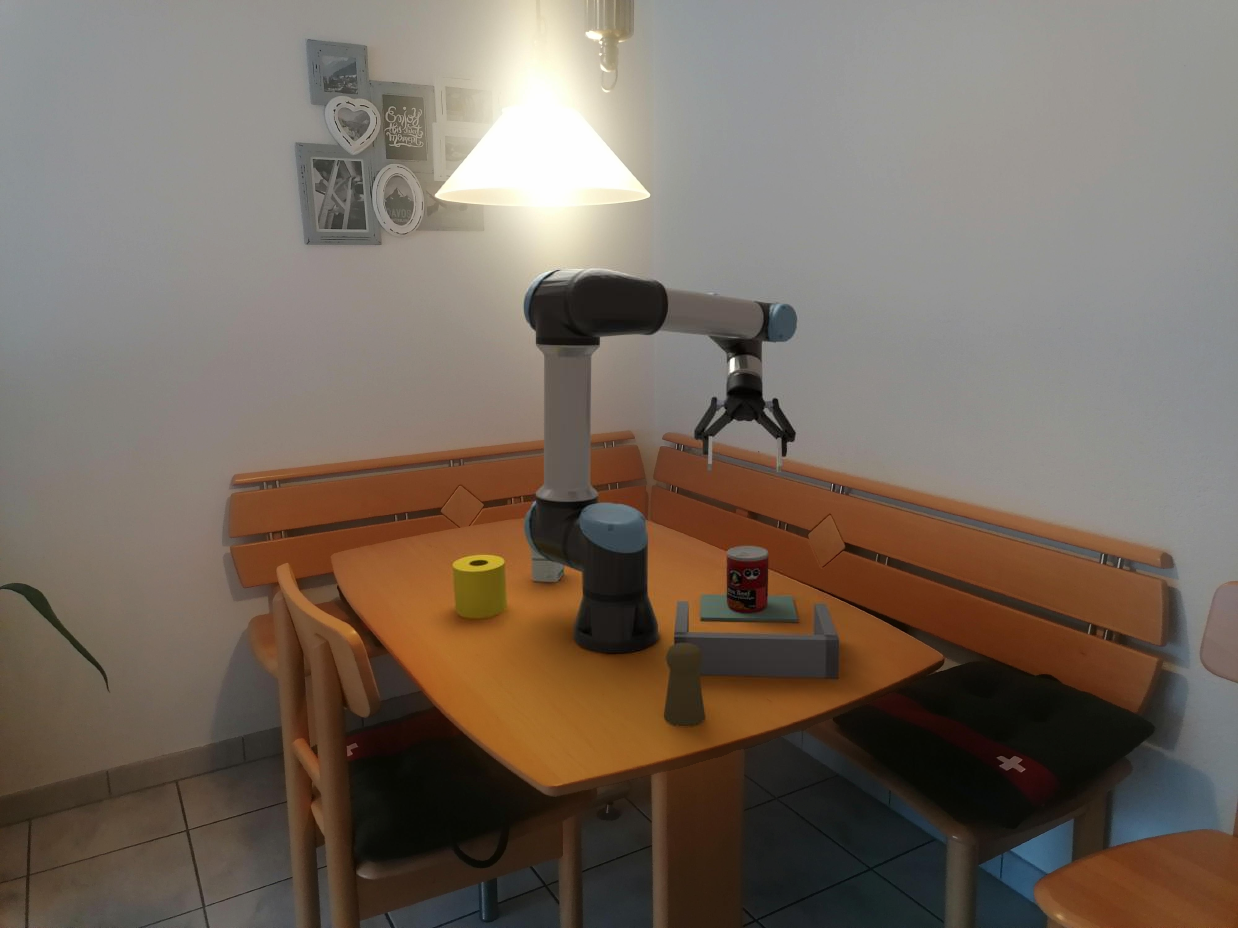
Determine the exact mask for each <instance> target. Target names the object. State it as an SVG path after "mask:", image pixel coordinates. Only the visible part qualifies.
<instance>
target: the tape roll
mask: <svg viewBox="0 0 1238 928" xmlns="http://www.w3.org/2000/svg"><path fill="white" fill-rule="evenodd" d="M505 564H506V562H505V559H504V558H503V557H501V556H497V555H493V554H492V555H491V554H476V555H475V554H474V555H469V556H465V557H462V558H458V559H457V560H455V561H454V562H453V563H452V575H453V576H452V577H453V589H454V606H455V607H454V609H455V613H456V614H457V615H458V616H460V617H463V618H467V617H468V618H467V619H486V618H490V617H495V616H498V615H500V614H502V613H504V612H505V611H506V610H507V608H508V603H507V583H506V581H507V580H506V565H505ZM494 615H495V616H494Z"/></svg>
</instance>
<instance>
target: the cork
mask: <svg viewBox="0 0 1238 928" xmlns="http://www.w3.org/2000/svg"><path fill="white" fill-rule="evenodd" d="M666 651H667V652H666V656H665V660H666V661H665V662H666V665H667V667H668V668H669V673H668V680H667V681H668V683H667V690H666V696H665V704H664V712H663V718H664V720H665V721H666V722H667V723H668V722H669V723H668V724H670V723H671V724H670V725H672V724H673V725H672V726H674V725H678V726H677V727H679V726H692V727H695V726H694V725H696V726H699V725H700V724H702V723H703V722H704V721H705V719H706V714H705V707H704V698H703V693H702V691H703V690H702V685H701V679H700V675H699V670H698V669H699V667H700V666H701V663H702V653H701V651H700V649H699V648H698V647H697V646H695V645H693V644H690V643H678V644H675V645H674V644H673V645H671V646H669V648H668V649H667V650H666ZM698 724H699V725H698Z"/></svg>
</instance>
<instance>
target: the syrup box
mask: <svg viewBox="0 0 1238 928" xmlns="http://www.w3.org/2000/svg"><path fill="white" fill-rule="evenodd" d="M529 548H530V561H531V563H530V564H531V565H530V567H531V579H532V581H533V582H539V583H558V582H559V580H560V579H561V578H562V577H563V575H564V574H565V565H562V564H559V563H556V562H552V561H549V560H547V559H545V558H544V557H543V556H541V555H539V554H538V553H536V552H535V551H534V550H533V549H532V548H531V547H529Z"/></svg>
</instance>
